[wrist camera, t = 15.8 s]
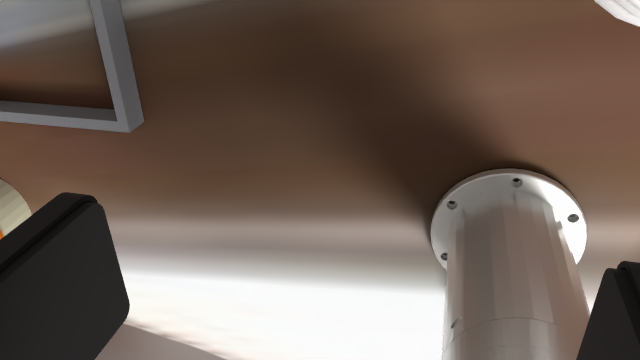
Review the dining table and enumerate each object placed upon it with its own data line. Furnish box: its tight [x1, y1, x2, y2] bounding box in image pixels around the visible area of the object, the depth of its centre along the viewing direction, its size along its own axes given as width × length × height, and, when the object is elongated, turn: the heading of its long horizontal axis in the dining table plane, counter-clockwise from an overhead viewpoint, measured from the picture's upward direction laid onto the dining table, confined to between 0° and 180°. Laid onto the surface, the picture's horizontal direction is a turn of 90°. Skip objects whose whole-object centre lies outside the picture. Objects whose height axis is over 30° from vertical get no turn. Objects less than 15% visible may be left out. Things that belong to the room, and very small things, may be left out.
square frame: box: [0, 0, 144, 133], centre depth 45 cm, size 17×17×2 cm
